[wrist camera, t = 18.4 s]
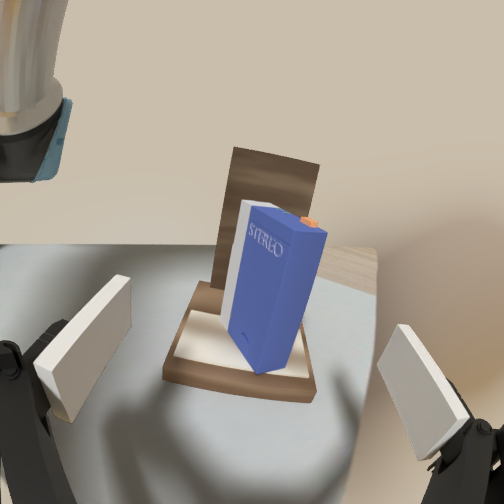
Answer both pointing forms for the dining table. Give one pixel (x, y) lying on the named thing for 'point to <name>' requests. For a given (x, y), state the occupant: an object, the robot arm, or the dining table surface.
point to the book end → (211, 294)
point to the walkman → (269, 282)
